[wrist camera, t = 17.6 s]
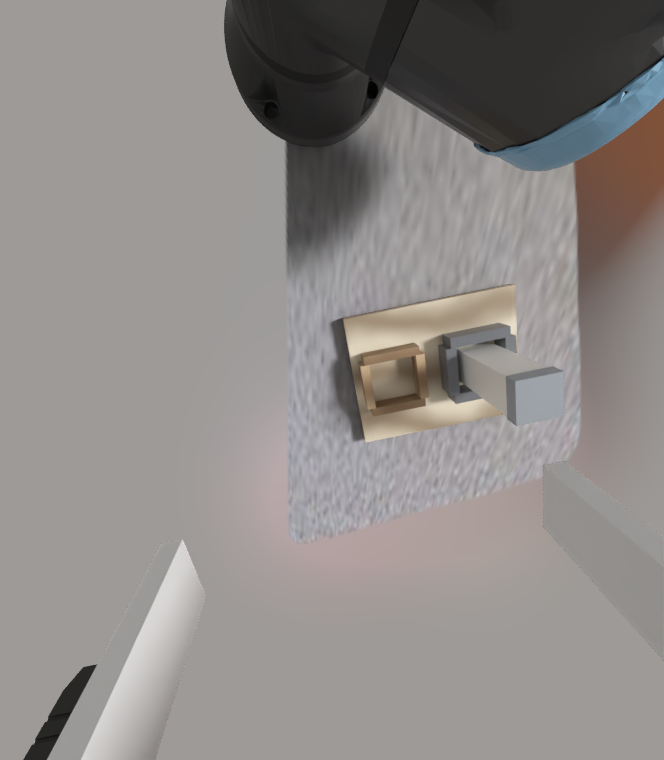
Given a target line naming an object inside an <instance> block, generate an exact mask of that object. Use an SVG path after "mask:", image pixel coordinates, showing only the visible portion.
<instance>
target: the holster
mask: <svg viewBox="0 0 664 760" xmlns="http://www.w3.org/2000/svg"><path fill="white" fill-rule="evenodd" d="M406 357H412V365H413V373H414V381H415V389H416V393H415V394H410V395H405V396H400V397H395V398H390V399H385V400H381V401H376V402H375V398H374V392H373V386H372V380H371V374H370V368H369V365H372V364H377V363H382V362H386V361H391V360H396V359H401V358H406ZM361 358H362V362H358V365H359V371H360V376H361V382H362V388H363V394H364V399H365V404H366V407H367V409H368V410H371V412H372V415H373V417H374V416H379V415H384V414H389V413H394V412H399V411H404V410H408V409H413V408H418V407H423V406H426V401H425V398H429V390H428V381H427V372H426V363H425V354H424V353H423V352H421V351H420V349H419V346H418V345H417V344H415V343H409V344H404V345H399V346H394V347H389V348H384V349H380V350H375V351H370V352H365V353H361Z"/></svg>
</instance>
